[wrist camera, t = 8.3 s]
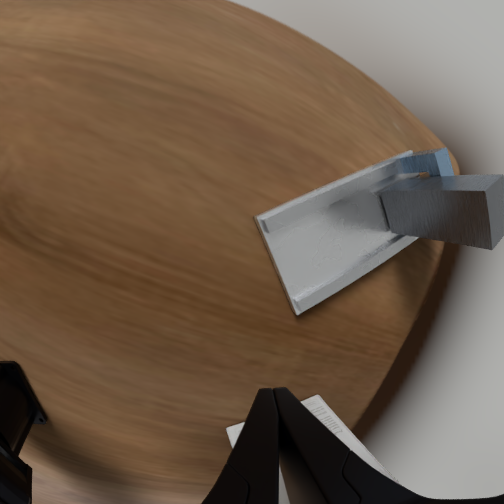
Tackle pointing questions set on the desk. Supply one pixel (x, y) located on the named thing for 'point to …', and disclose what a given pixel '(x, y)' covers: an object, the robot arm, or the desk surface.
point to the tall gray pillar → (448, 208)
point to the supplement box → (335, 426)
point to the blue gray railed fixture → (340, 228)
